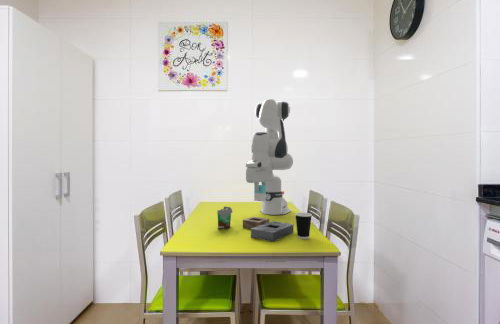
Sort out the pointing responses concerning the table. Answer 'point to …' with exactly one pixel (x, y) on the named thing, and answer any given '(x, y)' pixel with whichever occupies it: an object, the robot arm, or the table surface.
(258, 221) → the brown hollow square block
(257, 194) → the plug
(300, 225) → the dixie cup
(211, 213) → the table surface
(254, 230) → the port box
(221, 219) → the food container
